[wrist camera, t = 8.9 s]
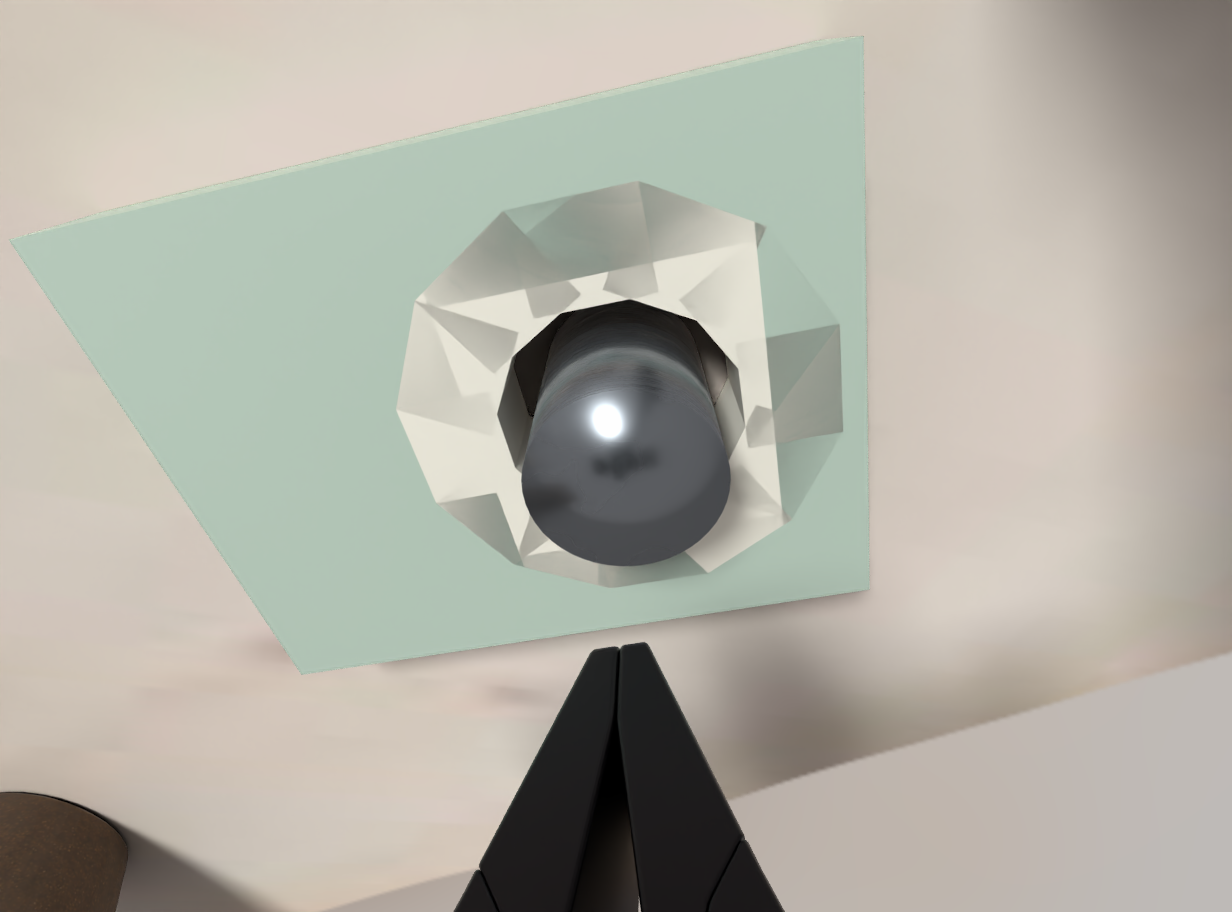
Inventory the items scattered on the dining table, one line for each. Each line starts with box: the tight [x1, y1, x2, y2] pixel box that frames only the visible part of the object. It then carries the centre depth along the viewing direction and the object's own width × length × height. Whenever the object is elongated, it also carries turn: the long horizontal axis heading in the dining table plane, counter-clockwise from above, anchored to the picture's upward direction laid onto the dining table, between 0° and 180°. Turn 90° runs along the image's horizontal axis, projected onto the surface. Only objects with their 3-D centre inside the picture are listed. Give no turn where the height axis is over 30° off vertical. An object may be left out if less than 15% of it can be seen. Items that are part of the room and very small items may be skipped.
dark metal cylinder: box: [521, 299, 731, 566], centre depth 16 cm, size 4×4×6 cm
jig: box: [9, 36, 869, 675], centre depth 18 cm, size 18×14×3 cm
